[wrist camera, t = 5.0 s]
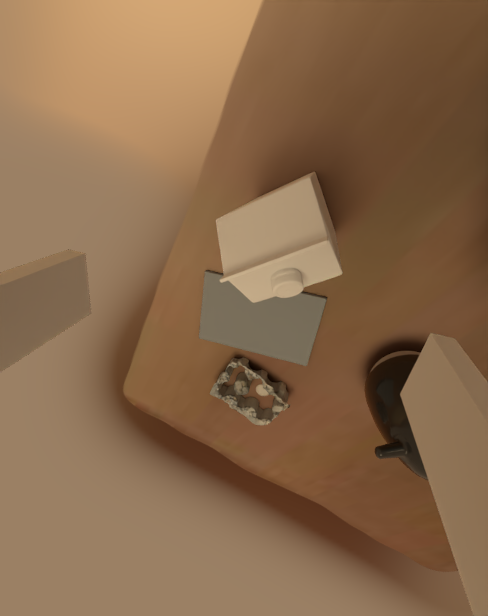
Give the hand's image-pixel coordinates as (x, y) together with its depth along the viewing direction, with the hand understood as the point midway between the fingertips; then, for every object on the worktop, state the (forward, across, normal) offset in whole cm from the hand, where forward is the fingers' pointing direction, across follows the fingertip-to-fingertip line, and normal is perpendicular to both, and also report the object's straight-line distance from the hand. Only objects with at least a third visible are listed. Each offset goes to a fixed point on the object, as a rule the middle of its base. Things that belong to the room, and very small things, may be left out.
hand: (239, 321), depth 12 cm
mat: (+27, -2, -14) cm, 30 cm away
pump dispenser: (+27, +18, -17) cm, 37 cm away
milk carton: (+27, 0, 0) cm, 27 cm away
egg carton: (+27, -1, -26) cm, 38 cm away
